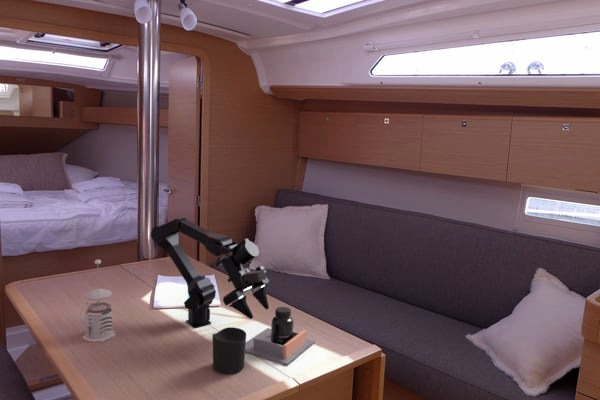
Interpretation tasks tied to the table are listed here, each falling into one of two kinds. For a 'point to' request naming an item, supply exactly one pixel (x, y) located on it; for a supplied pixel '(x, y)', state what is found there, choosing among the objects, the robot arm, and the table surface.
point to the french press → (94, 329)
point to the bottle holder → (278, 347)
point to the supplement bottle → (282, 326)
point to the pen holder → (229, 350)
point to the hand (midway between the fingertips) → (260, 313)
